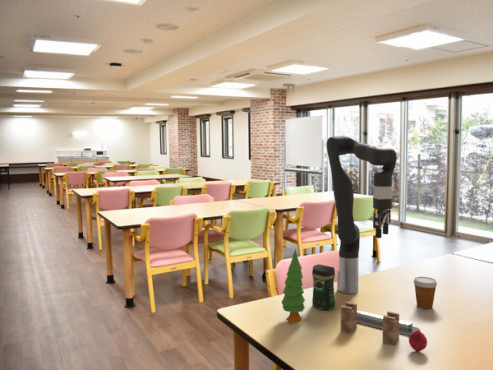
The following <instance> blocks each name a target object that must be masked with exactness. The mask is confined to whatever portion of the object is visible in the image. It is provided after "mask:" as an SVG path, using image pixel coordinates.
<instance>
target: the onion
mask: <svg viewBox="0 0 493 370" xmlns="http://www.w3.org/2000/svg"><path fill="white" fill-rule="evenodd" d="M408 337H409V338H408V344H409V346H410V347H411V349H412V350H413V351H414V352H417V353H419V352H421V351H423V350H425V349H426V348H427V346H428V340H427V337H426V335H425V334H424V333H423V332H421V329H420V328H419V329H417V330H416V331H415V332H413V333H412V334H411V335H410V336H408Z"/></svg>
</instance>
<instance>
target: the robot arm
mask: <svg viewBox="0 0 493 370" xmlns="http://www.w3.org/2000/svg"><path fill="white" fill-rule="evenodd" d="M326 140H327V141H326V152H327V157H328V162H329V166H330V167H329V168H330V172H331V173H330V174H331V180H332V191H333V197H334V203H335V204H334V206H335V209H336V215H337V217H336V218H337V237H338V239H339V241H340V242H339V243H340V245H339V250H338V271H337V273H336V276H337V277H336V279H337V280H336V281H337V282H336V284H337V285H336V290H337V292H340V293H343V294H348V295H352V294H354V295H355V294H357V293H358V292H359V259H360V258H359V257H360V256H359V254H360V240H361V239H360V236H361V235H360V234H361V233H360V229H359V226H358V225H357V224H356V223H355V221H354V201H355V200H354V199H355V197H354V196H355V195H354V194H355V193H354V186H353V181H352V179H351V178H350V176H349V175H348V173H347V172H346V171H345V170H344V168H343V166H342V164H341V159H340V156H345V155H349V154H350V155H354V156H355V158H357V159H359V160H362V161H366V162H367V163H369V164H370V165H373V166H377V167H378V166H379V167H380V166H382V168H381V169H380V170H379V171H376V172H375V173H374V175H373V189H372V208H373V209H376V212H374V213H373V219H372V220H373V224H372V225H373V226H372V227H373V228H374V229H375V238H376V239H381V238H382V237H383V236H382V235H388V234H389V226H390V224H391V223H392V222H391V221H392V220H391V217H392V215H391V212H392V211H391V210H392V209H393V174H394V172H395V168H396V164H397V160H398V159H397V157H398V156H397V152H396V150H395V149H394V148H391V147H384V148H383V147H382V148H381V147H380V148H379V147H377V146H375V145H372V144H368V143H363V142H360V141H358V140H356V139H353V138H352V137H350V136H347V135H337V136H330V137H328V138H327V139H326Z"/></svg>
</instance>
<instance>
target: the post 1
mask: <svg viewBox="0 0 493 370" xmlns="http://www.w3.org/2000/svg"><path fill="white" fill-rule="evenodd" d="M357 310H358V304H357V303H355V302H354V303H353V302H349V301H346V302H345V305H341V306H340V332H344V333H347V334H352V333H353V332H354V331H355V330H356V329H357V328H358V323H357Z"/></svg>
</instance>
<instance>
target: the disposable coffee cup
mask: <svg viewBox="0 0 493 370" xmlns="http://www.w3.org/2000/svg"><path fill="white" fill-rule="evenodd" d="M413 285H414V291H415V300H416V307H418V308H419V309H423V310H431V309H433V307H434V306H433V305H434V301H435V295H436V288H437V285H438V283H437V280H436V279H435V278H432V277H429V276H416V277H415V278H414V279H413Z"/></svg>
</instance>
